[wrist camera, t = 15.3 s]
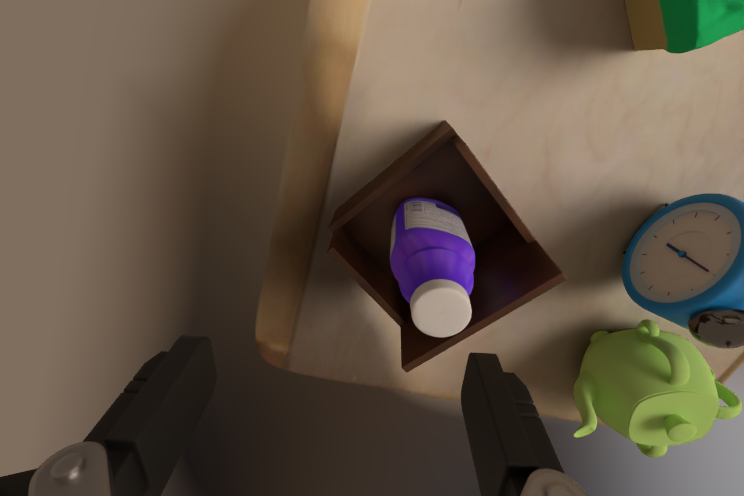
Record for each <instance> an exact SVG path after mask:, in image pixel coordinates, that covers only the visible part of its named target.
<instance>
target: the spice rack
mask: <svg viewBox="0 0 744 496" xmlns="http://www.w3.org/2000/svg"><path fill="white" fill-rule="evenodd" d="M413 197H424V198H430V199H435V200H438V201H441V202H443V203H445V204H447V205H449V206H451V207H453V208H454V209H455V210H456V211H457V212H458V213H459V215H460V217H461V219H462V222H463V224H464V227H465V229H466V232H467V234H468V237H469V239H470V242H471V244H472V247H473V249H474V252H475V268H474V271H473V275H474V283H473V289H472V292H471V294H470V295H469V299H470V304H471V309H472V314H471V319H470V321H469V323H468V324H467V326H466V327H465V328H464V329H463V330H462V331H460V332H459V333H457V334H455V335H452V336H448V337H434V336H430V335H427V334H425V333H423V332H422V331H420V330H419V329H418V328H417V327H416V326H415V324H414V322H413V320H412V316H411V308H410V303H409V302H407V301H406V299H405V298H404V297H403V295H402V293H401V291H400V287H399V282H398V281H397V279H396V278H395V276H394V274H393V272H392V269H391V264H390V249H391V229H392V221H393V218H394V214H395V212H396V211H397V209H398V207H399V205H400V204H401V203H402V202H403V201H405V200H406V199H409V198H413ZM329 229H330V230H331V231H332V232H333V233H334V234H333V237H332V239H331V242H330V245H329V248H328V250H327V252H328V253H329V254H330V255H331V256H332V257H333V258H334V259H335V260H336V261H337V262H338V263H339V264H340V265H341V267H342V268H343V269H344V270H345V271H346V272H347V273H348V274H349V275H350V276H351V277H352V278H353V279H354V280H355V281H356V282H357V283H358V284H359V285H360V286H361V287H362V288H363V289H364V290H365V291H366V292H367V293H368V294H369V295H370V296H371V297H372V298H373V299H374V300H375V301H376V302H377V303H378V304H379V305H380V306H381V307H382V308H383V309H384V310H385V311H386V312H387V314H388V315H389V316H390V317H391V318H392V319H393V320H394V321H395V322H396V323H397V324H398V325H399V326H400V327H401V361H402V369H404V370H405V371H406V372H409V371H410V370H412V369H414V368H416V367H417V366H419V365H421V364H422V363H424V362H426V361H428V360H429V359H431V358H433V357H434V356H436V355H438V354H440V353H441V352H443V351H445V350H446V349H448V348H450V347H452V346H453V345H455V344H457V343H458V342H460V341H462V340H464V339H465V338H467V337H469V336H471V335H472V334H474V333H476V332H477V331H479V330H481V329H483V328H484V327H486V326H488V325H489V324H491V323H493V322H495V321H496V320H498V319H500V318H501V317H503V316H505V315H507V314H508V313H510V312H512V311H513V310H515V309H517V308H519V307H520V306H522V305H524V304H525V303H527V302H529V301H531V300H532V299H534V298H536V297H537V296H539V295H541V294H543V293H544V292H546V291H548V290H549V289H551V288H553V287H555V286H556V285H558V284H560V283H561V282H563V281H565V280H566V279H567V278H566V277H565V275H564V274H563V273H562V271H561V270H560V269H559V268H558V266H557V265H556V264H555V263H554V262H553V260H552V259H551V258H550V257H549V255H548V254H547V253H546V252H545V250H544V249H543V248H542V247H541V245H540V244H539V243H538V242H537V241H536V239H535V238H534V236H533V235H532V234H531V232H530V231H529V230H528V228H527V227H526V225H525V224H524V223H523V221H522V220H521V219H520V217H519V216H518V215H517V213H516V212H515V210H514V209H513V208H512V206H511V205H510V204H509V202H508V201H507V199H506V198H505V197H504V195H503V194H502V193H501V191H500V190H499V189H498V187H497V186H496V184H495V183H494V182H493V180H492V179H491V178H490V176H489V175H488V173H487V172H486V171H485V169H484V168H483V167H482V165H481V164H480V163H479V161H478V160H477V158H476V157H475V156H474V154H473V153H472V152H471V150H470V149H469V147H468V146H467V145H466V143H465V142H464V141H463V140H462V139H461V138H460V137H459V136H458V135H457V133H456V132H455V130H454V129H453V128H452V127H451V126H450V125H449V124H448V122H447V121H444V122H443V123H442V124H440V125H439V126H438V127H437V128H435V129H434V130H433V131H432V132H431V133H429V134H428V135H427V136H426V137H424V138H423V139H422V140H421V141H420V142H418V143H417V144H416V145H415V146H413V147H412V148H411V149H410V150H409V151H407V152H406V153H405V154H404V155H402V156H401V157H400V158H399V159H398V160H396V161H395V162H394V163H393V164H391V165H390V166H389V167H388V168H387V169H385V170H384V171H383V172H382V173H380V174H379V175H378V176H377V177H376V178H374V179H373V180H372V181H371V182H369V183H368V184H367V185H366V186H365V187H363V188H362V189H361V190H360V191H358V192H357V193H356V194H355V195H354V196H352V197H351V198H350V199H349V200H347V201H346V202H345V203H344V204H343V205H341V206H340V207H339V208H338V209H336V211H335V213H334V216H333V218H332V221H331V223H330V226H329Z"/></svg>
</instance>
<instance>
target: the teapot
mask: <svg viewBox="0 0 744 496" xmlns="http://www.w3.org/2000/svg"><path fill="white" fill-rule="evenodd" d="M591 342H592V343H591V344H590V345H589V347H588V348H587V350H586V352H585V355H584V357H583V361H582V364H581V369H580V375H579V377H578V378H577V380H576V382H575V384H574V388H573V396H574V400H575V403H576V406H577V408H578V410H579V412H580V414H581V418H582V423H581V426H580V427H579V429H578V430H577V431H576V432H575V433H574V437H582V436H585V435H588V434H590V433H592V432H593V431H594V430H595V428H596V426H597V418H596V415H597V416H598V417H599V418H600V419H601V420H602V421H603V422H605V423H606V424H607V425H608V426H610V427H611V428H613V429H614V430H616V431H617V432H619V433H620V434H621V435H623V436H625V437H626V438H628V439H630V440H631V441H633V442H636V444H637V446H638V447H639V449H640V450H641V452H642V453H643V454H645V455H646V456H649V457H661V456H663V455H664V454H665V453H666V451H667V446H671V445H678V444H684V443H689V442H692V441H695V440H698V439H700V438H702V437H704V436H705V435H706V434H707V433H708V432H709V430H710V429H711V427H712V425H713V423H714V421H715V418H718V419H732V418H734V417H736V416H737V415H738V414H739V413H740V412H741V409H742V403H741V400H740V399H739V397H738V396H737V395H735V394H734V393H733V392H732V391H731V390H729V389H728V388H727V387H725V386H724V385H722V384H721V383H719V382H717V381H716V380H714V379H715V373H714V371H713V370H712V369H711V368H709V366H708V364H707V362H706V361H705V359H704V358H703V356H702V355H701V353H700V352H699V351H698V349H697V348H696V347H695V346H694V345H693V344H692V343H691V342H690V341H689V340H687V339H685V338H684V337H682V336H680V335H677V334H674V333H670V332H665V331H660V330H659V327H658V325H657V324H656V322H654V321H652V320H643V321H641V322H640V323H639V324H638V326H637V329H628V330H622V331H618V332H614V333H610V334H609V333H608V332H607V331H598V332H596V333H594V334H593V335H592V337H591ZM718 397H719V398H720V399H722V400H723V401H724V402H725V403H726V404H728V405H729V406H728V407H727V406H719V399H718Z"/></svg>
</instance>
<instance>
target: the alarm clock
mask: <svg viewBox="0 0 744 496" xmlns="http://www.w3.org/2000/svg"><path fill="white" fill-rule="evenodd" d="M623 254H625V256H624V259H623V265H622V278H623V283H624V286H625V289H626V291H627V293H628V295H629V296H630V297H631V299H632V300H633V301H634V302H635V303H637V304H638V305H639V306H641V307H642V308H644V309H646V310H648V311H650V312H652V313H654V314H656V315H659V316H661V317H663V318H665V319H667V320H669V321H671V322H674V323H676V324H678V325H680V326H682V327H684V328H687V329H689V331H690V333H691V334H692V336H693V337H694V338H695V339H697V340H698V341H700V342H701V343H703V344H706V345H708V346H712V347H717V348H737V347H741V346H744V202H742V201H740V200H738V199H736V198H733V197H730V196H727V195H722V194H699V195H694V196H690V197H686V198H683V199H680V200H678V201H676V202H673V203H671V204H667V203H666V204H665V207H664V208H663V209H661V210H660V211H658V212H657V213H656V214H654V215H653V216H652V217H651V218H649V219H648V220H647V221H646V222H645V223H644V224H643V225H642V226H641V228H640V229H639V230H638V231H637V233H636V234H635V235H634V237H633V238H632V240H631V242H630V244H629V246H628V248H627V250H626V251H624V252H623Z"/></svg>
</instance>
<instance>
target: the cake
mask: <svg viewBox="0 0 744 496" xmlns="http://www.w3.org/2000/svg"><path fill="white" fill-rule="evenodd" d="M624 1H625V6H626V11H627V16H628V21H629V25H630V30H631V35H632V40H633V45H634V50H635V51H639V50H655V49H664V50H666V51H668V52H670V53H684V52H688V51H691V50H694V49H698V48H702V47H704V46H707V45H709V44H712V43H714V42H716V41H718V40H720V39H721V38H724V37H726V36H729V35H731V34H734V33H736V32H739V31H741V30H743V29H744V0H624Z"/></svg>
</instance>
